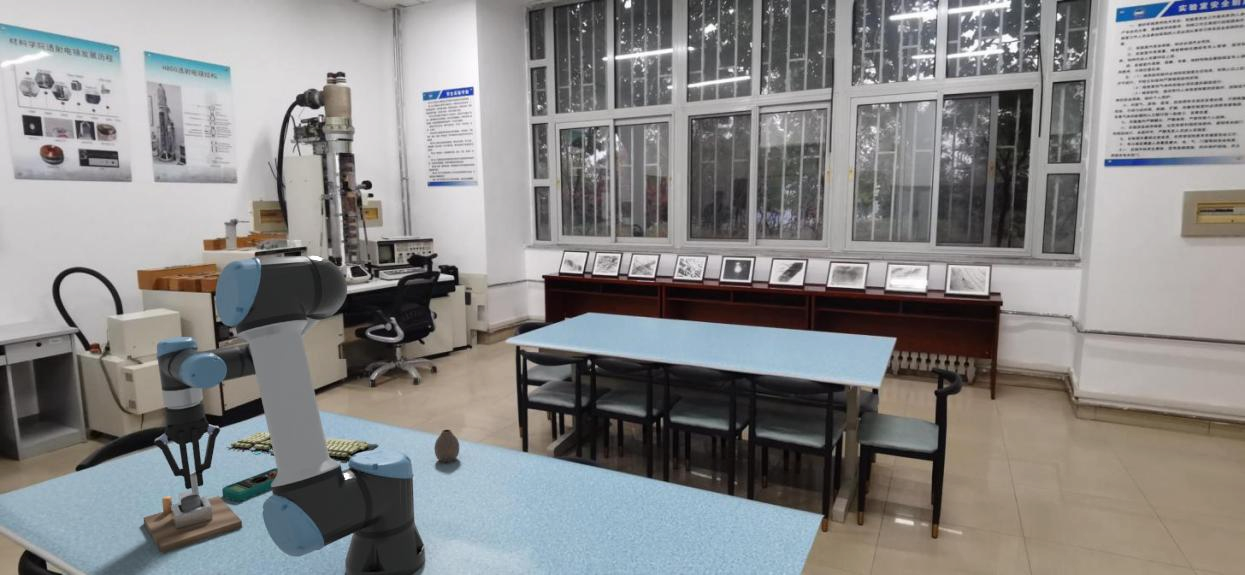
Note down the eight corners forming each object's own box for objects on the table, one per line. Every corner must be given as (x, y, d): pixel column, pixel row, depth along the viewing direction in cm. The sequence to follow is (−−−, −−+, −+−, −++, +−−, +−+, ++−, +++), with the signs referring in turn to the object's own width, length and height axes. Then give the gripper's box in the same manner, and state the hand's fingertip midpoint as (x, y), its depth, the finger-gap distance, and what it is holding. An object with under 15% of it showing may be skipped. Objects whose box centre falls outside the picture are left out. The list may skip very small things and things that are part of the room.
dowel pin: (173, 512, 146) (172, 497, 146) (164, 514, 145) (163, 500, 144) (171, 509, 147) (170, 495, 147) (162, 512, 146) (161, 497, 146)
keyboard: (379, 448, 191) (378, 440, 190) (347, 468, 176) (347, 460, 176) (256, 435, 201) (255, 428, 201) (216, 453, 187) (216, 445, 187)
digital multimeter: (294, 481, 167) (294, 471, 167) (238, 504, 154) (237, 492, 154) (277, 476, 170) (277, 465, 170) (221, 497, 158) (220, 486, 157)
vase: (433, 457, 182) (432, 428, 181) (457, 453, 185) (456, 425, 184) (436, 466, 176) (435, 436, 174) (461, 462, 178) (460, 432, 177)
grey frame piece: (212, 518, 143) (211, 506, 142) (176, 529, 138) (175, 516, 138) (202, 499, 152) (201, 487, 152) (168, 508, 147) (166, 496, 147)
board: (242, 526, 142) (239, 499, 141) (161, 553, 131) (158, 524, 131) (219, 501, 154) (217, 476, 154) (144, 523, 144) (141, 496, 143)
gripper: (214, 394, 152) (225, 486, 155) (149, 406, 144) (162, 502, 148) (218, 401, 146) (229, 497, 150) (150, 414, 139) (163, 514, 142)
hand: (196, 499), depth 149 cm, fingers closed
